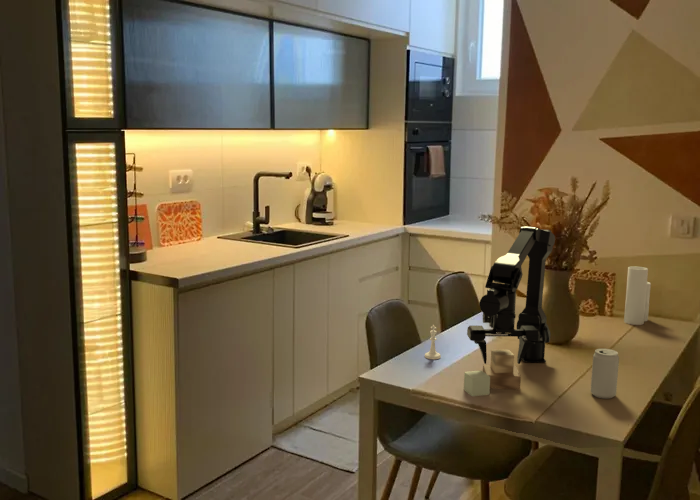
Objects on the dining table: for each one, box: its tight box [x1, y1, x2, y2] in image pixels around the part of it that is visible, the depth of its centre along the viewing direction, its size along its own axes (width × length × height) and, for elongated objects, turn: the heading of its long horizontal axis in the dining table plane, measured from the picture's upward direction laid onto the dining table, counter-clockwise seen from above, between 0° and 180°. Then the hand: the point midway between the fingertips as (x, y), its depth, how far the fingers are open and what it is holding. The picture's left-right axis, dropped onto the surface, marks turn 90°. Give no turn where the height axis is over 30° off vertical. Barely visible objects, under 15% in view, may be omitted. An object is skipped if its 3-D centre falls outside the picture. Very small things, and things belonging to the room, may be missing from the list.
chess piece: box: [424, 324, 442, 360], centre depth 218 cm, size 5×5×10 cm
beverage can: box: [590, 348, 620, 400], centre depth 188 cm, size 6×6×12 cm
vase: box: [623, 265, 652, 326], centre depth 259 cm, size 11×7×20 cm, turn 144°
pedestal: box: [482, 363, 522, 390], centre depth 197 cm, size 9×9×4 cm
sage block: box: [463, 369, 491, 397], centre depth 190 cm, size 5×5×5 cm
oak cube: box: [489, 349, 515, 373], centre depth 196 cm, size 5×5×5 cm
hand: (501, 363), depth 196 cm, fingers open, 9 cm apart
